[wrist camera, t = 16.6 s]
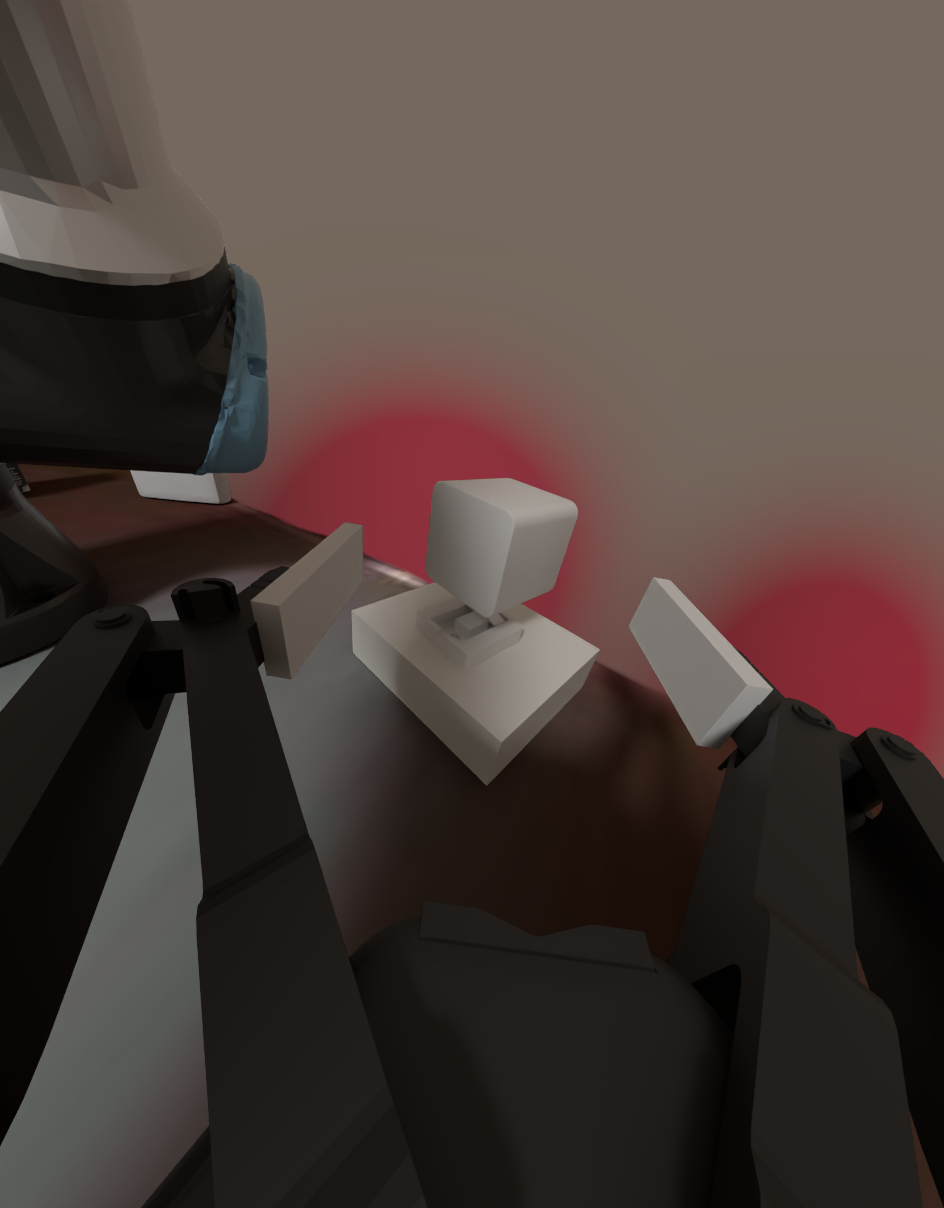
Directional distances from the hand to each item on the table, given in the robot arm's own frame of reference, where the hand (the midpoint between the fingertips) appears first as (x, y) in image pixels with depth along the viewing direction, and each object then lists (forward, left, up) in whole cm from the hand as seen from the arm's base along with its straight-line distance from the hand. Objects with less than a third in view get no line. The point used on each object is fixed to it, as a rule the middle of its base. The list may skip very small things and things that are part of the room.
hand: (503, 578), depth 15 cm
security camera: (-4, +5, -8) cm, 10 cm away
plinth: (-4, +5, -12) cm, 13 cm away
